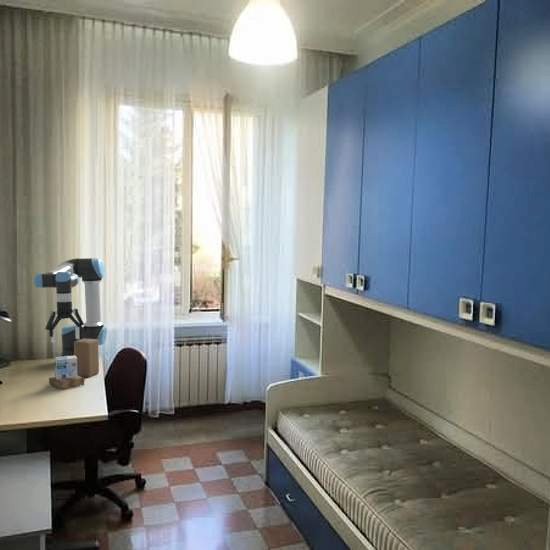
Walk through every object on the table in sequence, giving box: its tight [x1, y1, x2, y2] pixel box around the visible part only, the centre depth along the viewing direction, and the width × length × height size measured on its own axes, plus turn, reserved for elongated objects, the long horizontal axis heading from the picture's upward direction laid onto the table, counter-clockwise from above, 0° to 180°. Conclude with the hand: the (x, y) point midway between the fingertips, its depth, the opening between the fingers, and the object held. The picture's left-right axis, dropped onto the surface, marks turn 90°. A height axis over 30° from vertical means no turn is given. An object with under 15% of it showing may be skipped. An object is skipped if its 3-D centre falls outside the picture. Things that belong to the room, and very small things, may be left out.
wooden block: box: [74, 338, 100, 378], centre depth 322 cm, size 10×10×20 cm
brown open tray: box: [48, 375, 85, 391], centre depth 301 cm, size 13×13×4 cm
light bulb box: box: [54, 355, 77, 380], centre depth 301 cm, size 11×7×11 cm, turn 118°
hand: (65, 340), depth 299 cm, fingers open, 13 cm apart
